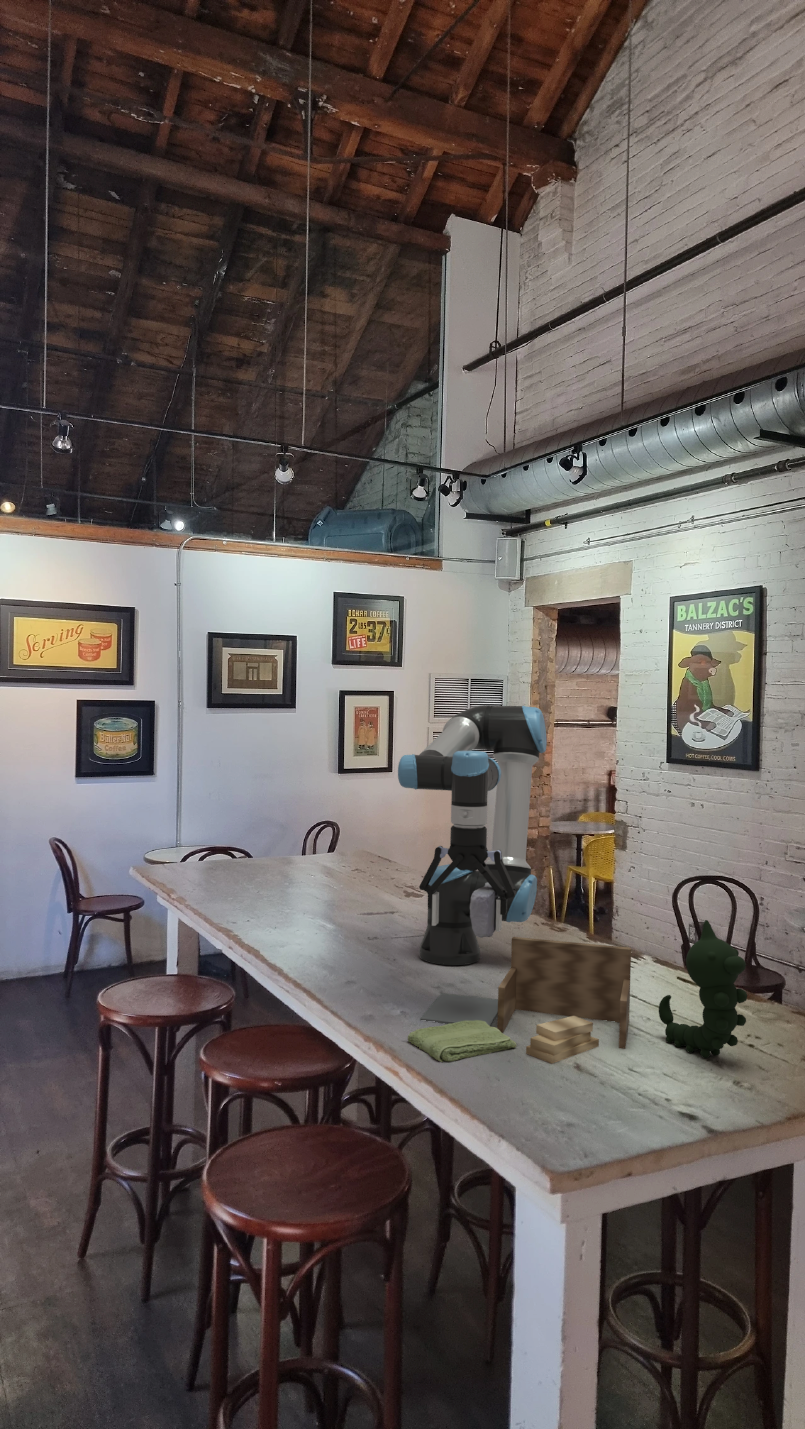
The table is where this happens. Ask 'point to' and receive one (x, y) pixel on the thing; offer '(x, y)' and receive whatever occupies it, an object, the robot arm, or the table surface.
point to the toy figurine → (710, 996)
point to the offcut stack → (562, 1039)
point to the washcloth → (460, 1040)
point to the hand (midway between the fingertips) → (466, 927)
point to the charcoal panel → (461, 1009)
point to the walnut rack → (567, 982)
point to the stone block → (483, 911)
